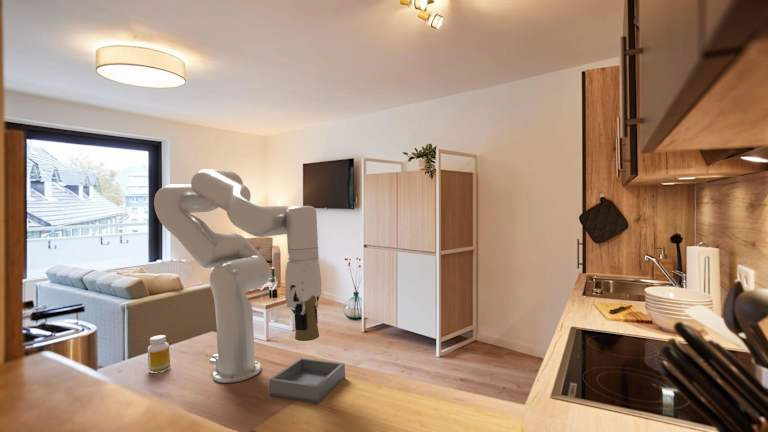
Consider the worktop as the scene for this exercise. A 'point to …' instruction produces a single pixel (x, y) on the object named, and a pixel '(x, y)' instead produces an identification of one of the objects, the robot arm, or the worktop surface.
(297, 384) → the box
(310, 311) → the cork
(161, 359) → the supplement bottle
